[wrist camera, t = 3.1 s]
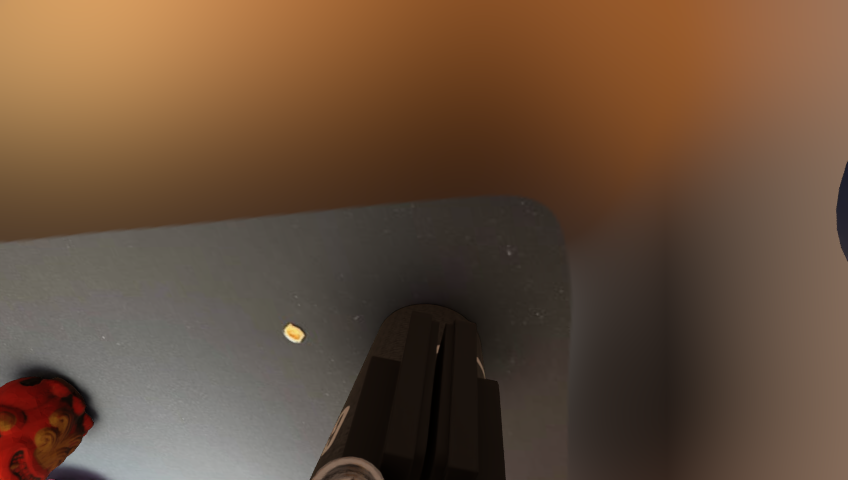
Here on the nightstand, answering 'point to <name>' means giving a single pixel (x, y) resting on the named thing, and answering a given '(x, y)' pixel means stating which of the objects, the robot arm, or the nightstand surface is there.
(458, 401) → the robot arm
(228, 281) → the nightstand surface
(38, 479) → the red clay folk toy
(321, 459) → the coffee cup
